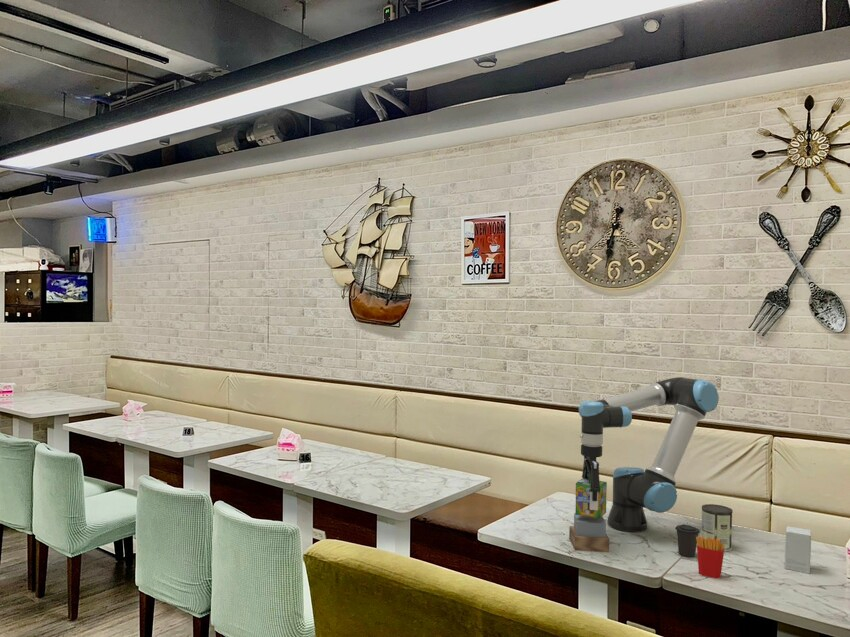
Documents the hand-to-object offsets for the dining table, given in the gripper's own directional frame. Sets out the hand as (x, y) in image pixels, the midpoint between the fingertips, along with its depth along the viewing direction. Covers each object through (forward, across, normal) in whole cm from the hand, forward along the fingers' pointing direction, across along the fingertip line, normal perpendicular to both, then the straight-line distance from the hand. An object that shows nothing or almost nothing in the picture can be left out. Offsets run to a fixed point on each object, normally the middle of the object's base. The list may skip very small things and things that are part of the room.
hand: (590, 504), depth 226 cm
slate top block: (+10, 0, 0) cm, 10 cm away
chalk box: (+4, 0, 0) cm, 4 cm away
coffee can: (+15, -5, +47) cm, 50 cm away
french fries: (+15, +22, +34) cm, 43 cm away
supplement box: (+15, +12, +67) cm, 70 cm away
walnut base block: (+15, 0, 0) cm, 15 cm away
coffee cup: (+15, +5, +33) cm, 36 cm away
